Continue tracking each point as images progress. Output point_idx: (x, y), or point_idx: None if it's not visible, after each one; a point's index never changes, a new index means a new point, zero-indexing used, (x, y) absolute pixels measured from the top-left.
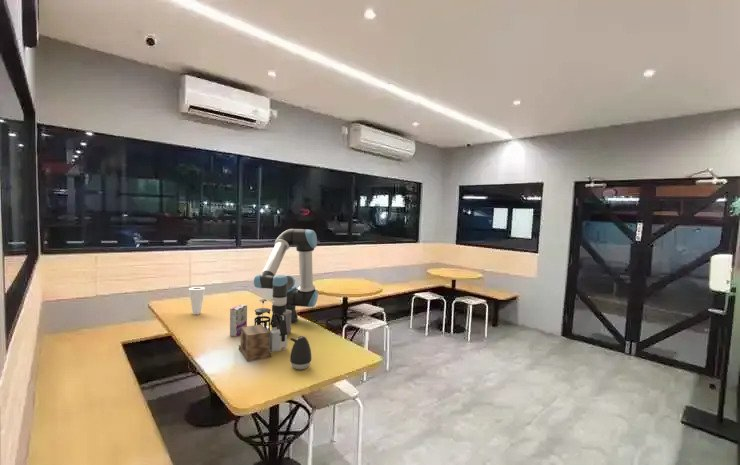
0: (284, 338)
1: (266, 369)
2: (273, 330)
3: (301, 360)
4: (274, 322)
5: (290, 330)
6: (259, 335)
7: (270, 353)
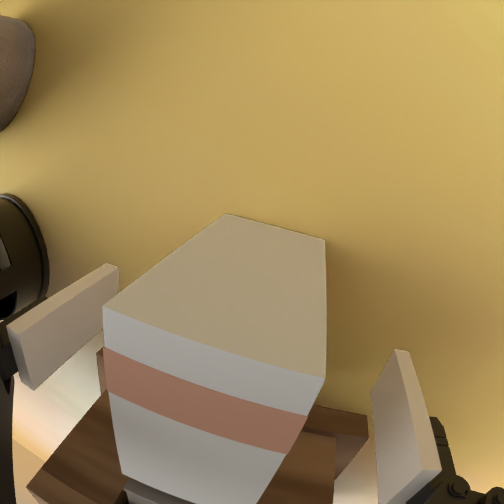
0: (446, 451)
1: (456, 473)
2: (135, 459)
3: None
4: (8, 472)
5: (12, 21)
6: None
7: (364, 441)
